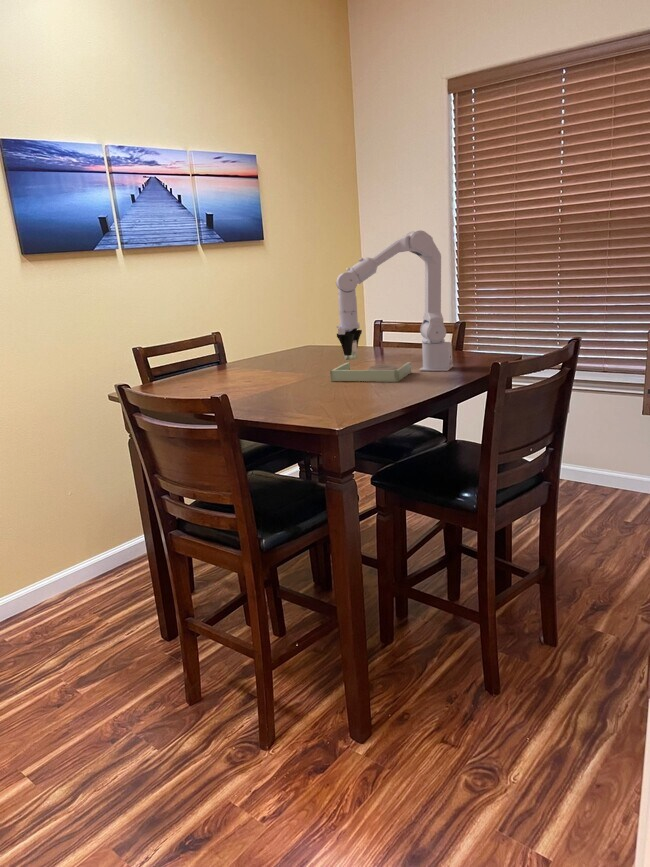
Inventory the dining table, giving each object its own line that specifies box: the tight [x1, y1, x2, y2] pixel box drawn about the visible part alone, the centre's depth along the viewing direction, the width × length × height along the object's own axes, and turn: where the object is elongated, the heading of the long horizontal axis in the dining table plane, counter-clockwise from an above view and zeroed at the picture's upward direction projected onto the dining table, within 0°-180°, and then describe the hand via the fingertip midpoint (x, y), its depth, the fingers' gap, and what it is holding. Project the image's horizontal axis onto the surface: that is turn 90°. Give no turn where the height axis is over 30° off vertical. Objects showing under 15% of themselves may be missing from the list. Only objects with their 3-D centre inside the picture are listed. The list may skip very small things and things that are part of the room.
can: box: [343, 340, 359, 361], centre depth 209 cm, size 4×4×6 cm
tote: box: [329, 361, 412, 383], centre depth 207 cm, size 22×15×4 cm
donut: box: [367, 364, 399, 370], centre depth 205 cm, size 10×4×10 cm
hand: (350, 354), depth 210 cm, fingers closed on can, 4 cm apart
